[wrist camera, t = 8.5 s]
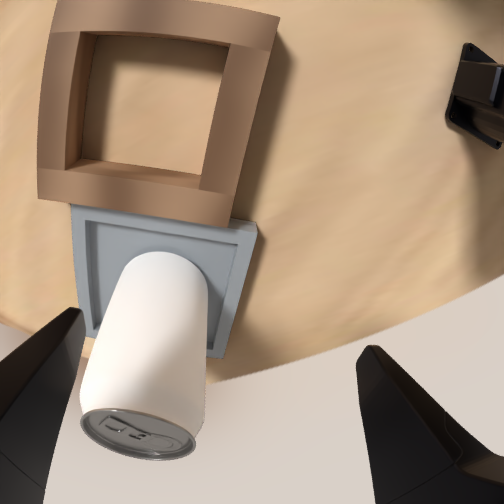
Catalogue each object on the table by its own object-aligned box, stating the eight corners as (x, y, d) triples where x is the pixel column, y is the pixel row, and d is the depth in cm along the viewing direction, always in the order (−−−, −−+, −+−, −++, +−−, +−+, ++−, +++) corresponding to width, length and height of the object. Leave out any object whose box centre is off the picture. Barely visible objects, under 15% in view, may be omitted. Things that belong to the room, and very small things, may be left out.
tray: (255, 222, 21) (257, 233, 20) (222, 345, 27) (222, 358, 26) (79, 194, 19) (71, 203, 18) (88, 323, 25) (83, 336, 24)
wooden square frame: (273, 24, 15) (280, 17, 12) (227, 210, 21) (227, 228, 18) (75, 6, 12) (57, 0, 10) (54, 184, 18) (38, 198, 16)
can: (176, 331, 25) (163, 470, 15) (107, 290, 22) (58, 430, 12) (227, 281, 23) (234, 439, 13) (150, 230, 20) (97, 386, 10)
